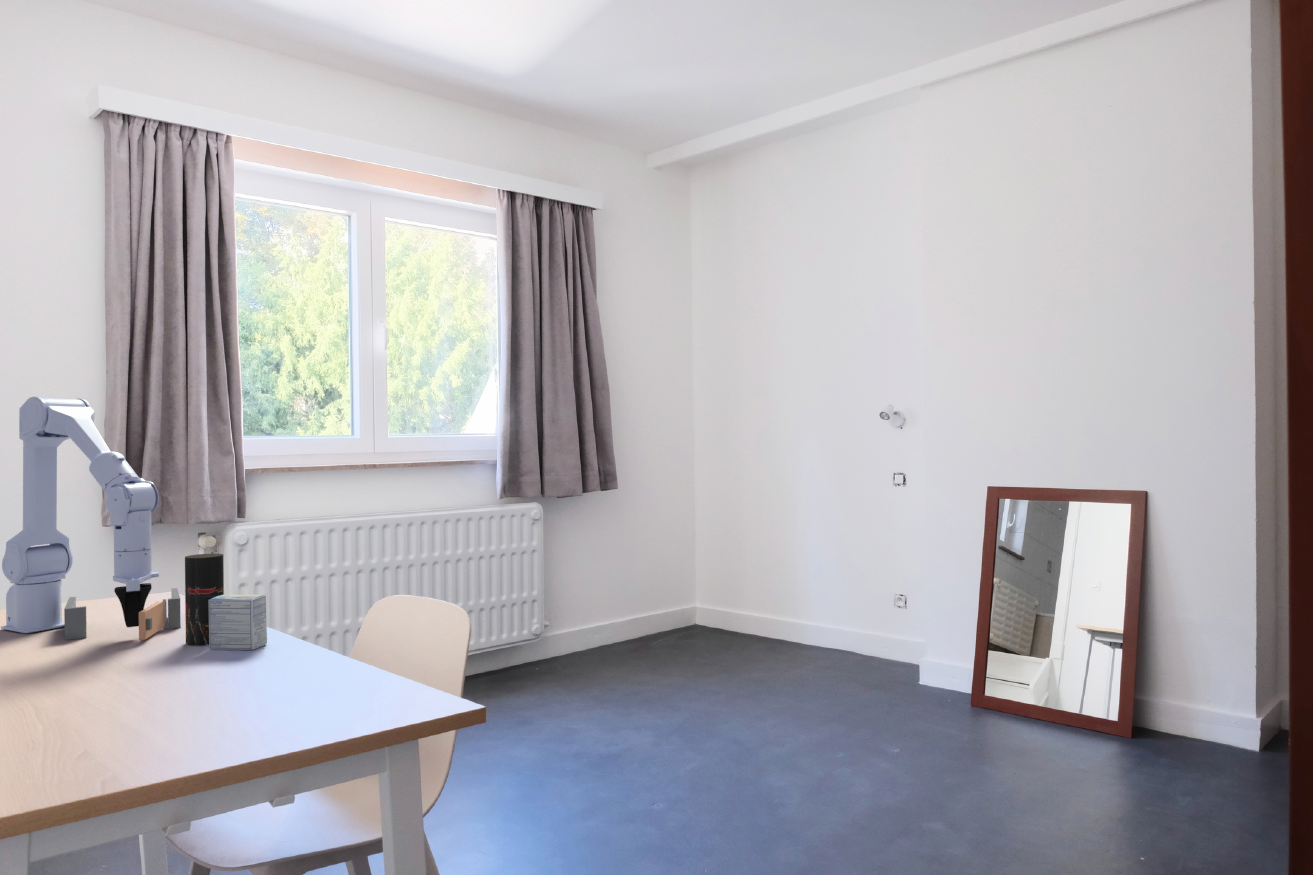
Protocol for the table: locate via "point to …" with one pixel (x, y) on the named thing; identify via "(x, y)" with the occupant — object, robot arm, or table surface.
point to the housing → (77, 616)
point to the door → (151, 620)
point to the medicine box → (237, 622)
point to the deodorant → (201, 594)
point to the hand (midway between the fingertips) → (133, 626)
